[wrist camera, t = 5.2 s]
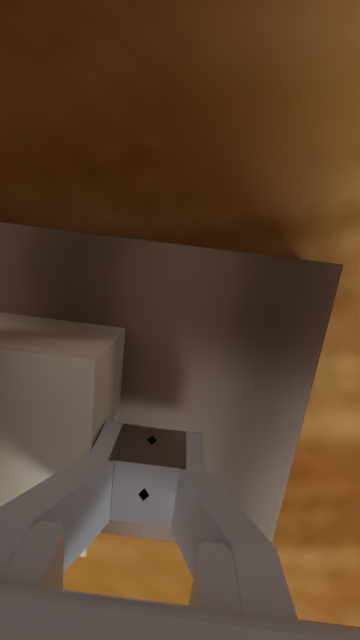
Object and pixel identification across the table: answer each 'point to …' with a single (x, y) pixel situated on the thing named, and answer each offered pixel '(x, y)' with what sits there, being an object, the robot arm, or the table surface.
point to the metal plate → (190, 344)
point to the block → (53, 395)
